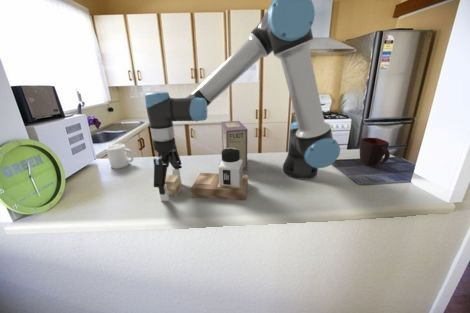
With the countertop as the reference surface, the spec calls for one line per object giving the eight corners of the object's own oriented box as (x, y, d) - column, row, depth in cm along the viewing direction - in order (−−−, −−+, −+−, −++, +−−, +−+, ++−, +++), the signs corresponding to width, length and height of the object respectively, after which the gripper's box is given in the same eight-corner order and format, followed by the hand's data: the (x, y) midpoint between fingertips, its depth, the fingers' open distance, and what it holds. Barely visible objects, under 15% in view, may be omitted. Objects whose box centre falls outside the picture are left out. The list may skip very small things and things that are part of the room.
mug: (370, 159, 103) (376, 137, 99) (392, 171, 91) (401, 146, 86) (352, 160, 102) (357, 138, 98) (372, 173, 90) (379, 148, 85)
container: (239, 187, 73) (239, 154, 68) (219, 185, 74) (217, 153, 69) (242, 177, 80) (242, 146, 75) (223, 175, 81) (222, 145, 76)
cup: (117, 161, 106) (112, 143, 102) (139, 161, 106) (135, 143, 102) (107, 168, 99) (101, 149, 95) (131, 168, 98) (126, 149, 94)
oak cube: (181, 188, 81) (179, 175, 79) (176, 195, 76) (173, 181, 74) (169, 187, 82) (167, 174, 79) (163, 194, 77) (161, 181, 75)
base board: (247, 183, 84) (247, 174, 82) (245, 200, 73) (245, 190, 71) (201, 181, 86) (200, 172, 84) (192, 197, 75) (190, 187, 73)
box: (247, 170, 94) (247, 129, 86) (228, 172, 93) (226, 130, 85) (239, 157, 109) (239, 120, 101) (223, 158, 108) (221, 121, 100)
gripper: (168, 128, 82) (174, 175, 90) (133, 150, 60) (146, 209, 68) (185, 129, 81) (191, 176, 89) (157, 151, 59) (167, 211, 67)
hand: (171, 191), depth 79 cm, fingers open, 12 cm apart
